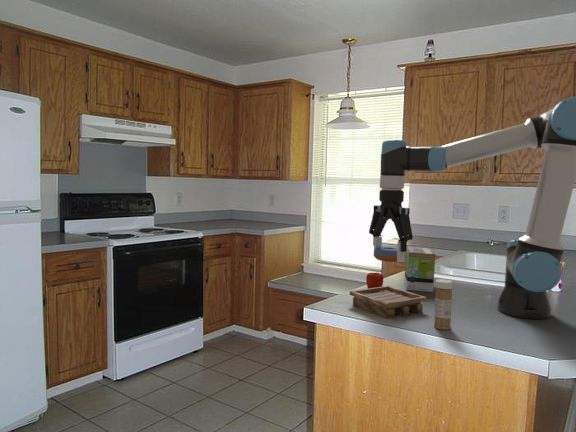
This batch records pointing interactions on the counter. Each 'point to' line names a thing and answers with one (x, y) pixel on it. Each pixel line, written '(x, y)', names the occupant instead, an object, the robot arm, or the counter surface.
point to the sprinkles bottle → (443, 304)
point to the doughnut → (386, 253)
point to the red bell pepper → (374, 280)
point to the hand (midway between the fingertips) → (388, 259)
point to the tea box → (419, 269)
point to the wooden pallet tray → (388, 301)
